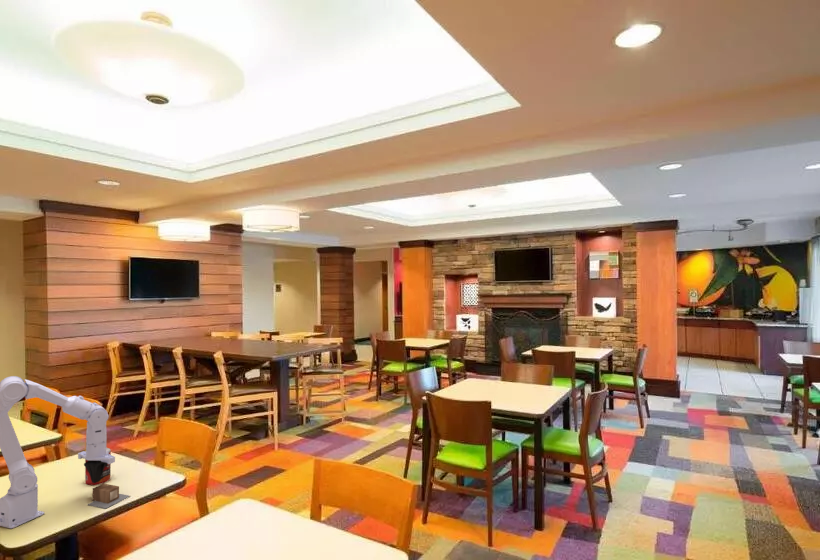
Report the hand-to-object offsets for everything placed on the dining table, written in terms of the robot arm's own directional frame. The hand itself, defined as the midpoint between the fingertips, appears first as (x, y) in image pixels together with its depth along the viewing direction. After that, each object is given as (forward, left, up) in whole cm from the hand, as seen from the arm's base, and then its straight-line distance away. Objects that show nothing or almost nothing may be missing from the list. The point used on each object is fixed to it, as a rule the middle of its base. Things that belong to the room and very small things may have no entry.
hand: (96, 481), depth 157 cm
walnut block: (0, -1, -3) cm, 3 cm away
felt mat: (0, -6, -6) cm, 8 cm away
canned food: (+10, +12, -6) cm, 17 cm away
